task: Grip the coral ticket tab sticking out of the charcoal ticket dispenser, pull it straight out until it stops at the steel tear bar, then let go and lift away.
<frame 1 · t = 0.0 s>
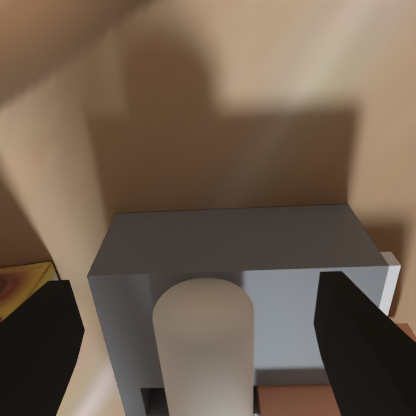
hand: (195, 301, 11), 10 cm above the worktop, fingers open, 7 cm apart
dispenser: (242, 324, 25), on the worktop
ticket: (340, 377, 21), point 4 cm above the worktop, slide at 0.0 cm
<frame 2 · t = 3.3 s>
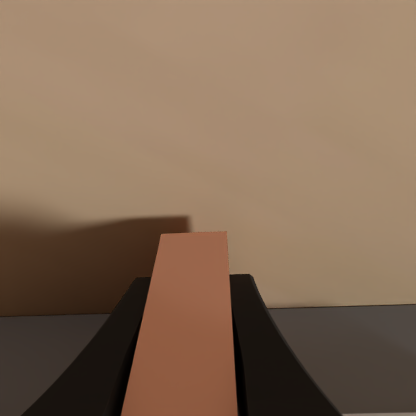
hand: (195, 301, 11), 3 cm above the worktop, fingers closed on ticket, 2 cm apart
dispenser: (210, 402, 17), on the worktop
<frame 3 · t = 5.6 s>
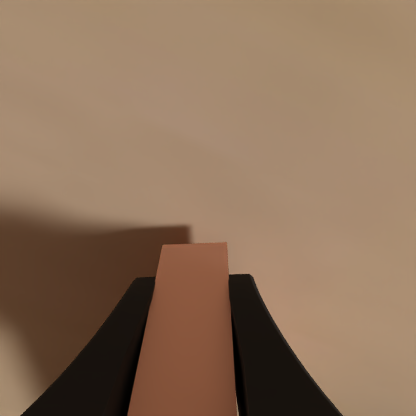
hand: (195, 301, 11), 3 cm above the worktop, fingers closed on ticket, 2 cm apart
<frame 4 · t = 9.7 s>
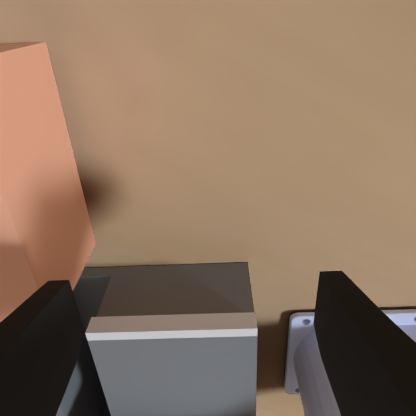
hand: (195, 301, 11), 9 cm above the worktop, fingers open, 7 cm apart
dispenser: (111, 336, 25), on the worktop
ticket: (25, 186, 15), point 4 cm above the worktop, slide at 8.0 cm
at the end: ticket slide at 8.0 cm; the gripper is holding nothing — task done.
